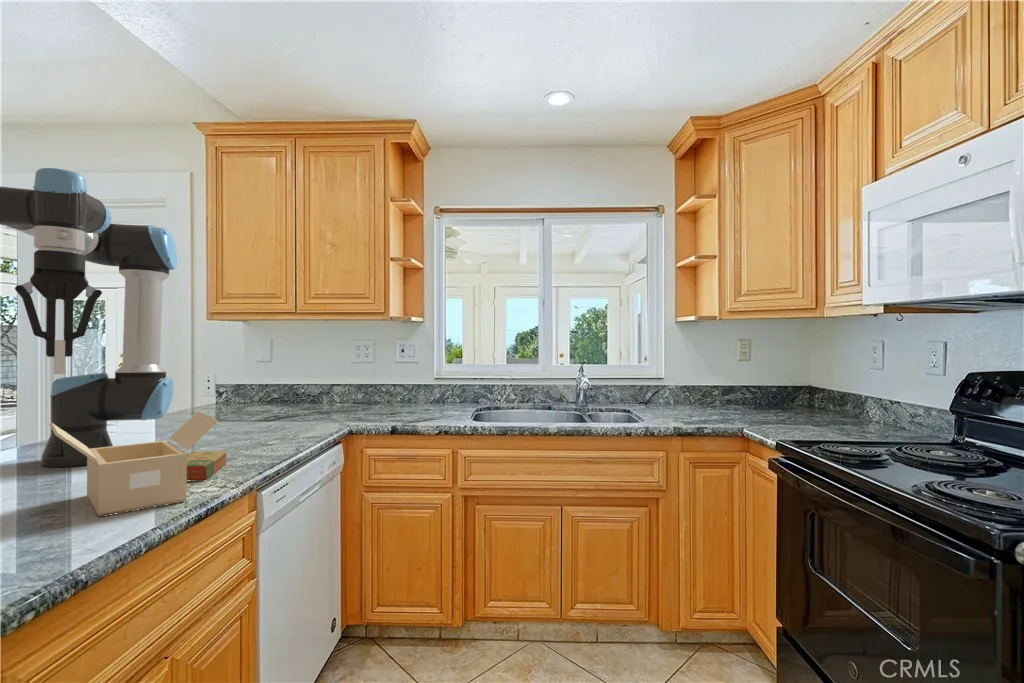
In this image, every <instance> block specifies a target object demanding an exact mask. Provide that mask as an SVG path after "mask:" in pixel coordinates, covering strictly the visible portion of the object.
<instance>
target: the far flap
mask: <svg viewBox="0 0 1024 683" xmlns="http://www.w3.org/2000/svg"><path fill="white" fill-rule="evenodd" d="M218 422H219V420H218V419H217V418H215V417H212V416H210V415H207V414H205V413H202V412H200V411H197V412H196V413H194V414H193V415H192V416H191V417H190V418H189V419H188V420H187V421H186V422H185V423H184V424H183V425H182V426H181V427H180V428H178V429H177V431H175V432H174V433H173V434H172V435H171V436H170V437H169V439H171V440H172V441H173V442H175V443H176V444H178V445H179V446H181V447H182V448H184V449H185V450H187V451H189V450H190V449H192V447H194V445H196V444H197V442H199V440H201V439H202V437H204V435H206V434H207V433H208V431H210V430H211V429H212V428H213V427H214V426H215V425H216V424H217V423H218Z"/></svg>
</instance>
